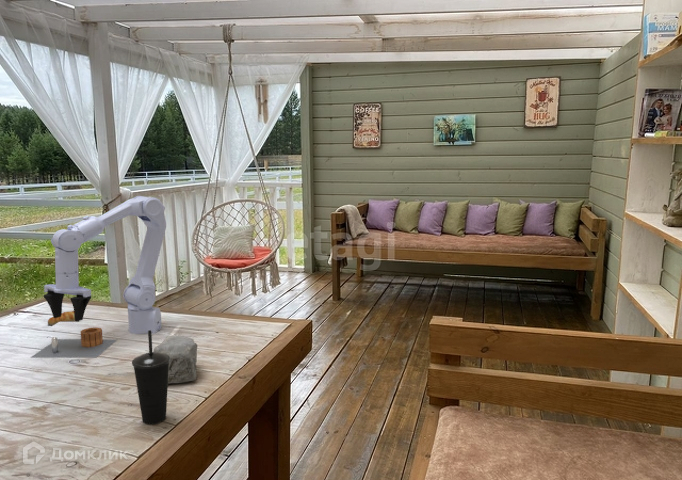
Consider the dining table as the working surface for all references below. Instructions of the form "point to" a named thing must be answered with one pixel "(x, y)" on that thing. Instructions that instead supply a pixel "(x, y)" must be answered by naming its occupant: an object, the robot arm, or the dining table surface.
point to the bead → (91, 337)
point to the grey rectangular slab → (74, 349)
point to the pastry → (63, 318)
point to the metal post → (54, 345)
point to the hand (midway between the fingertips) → (68, 318)
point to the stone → (180, 358)
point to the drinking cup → (152, 384)
